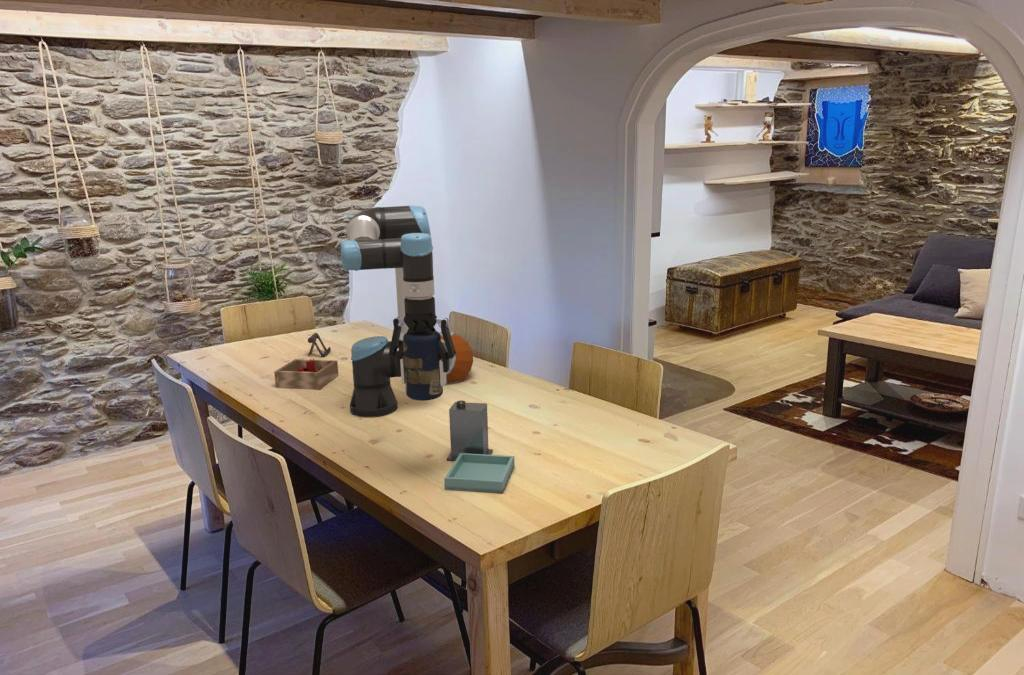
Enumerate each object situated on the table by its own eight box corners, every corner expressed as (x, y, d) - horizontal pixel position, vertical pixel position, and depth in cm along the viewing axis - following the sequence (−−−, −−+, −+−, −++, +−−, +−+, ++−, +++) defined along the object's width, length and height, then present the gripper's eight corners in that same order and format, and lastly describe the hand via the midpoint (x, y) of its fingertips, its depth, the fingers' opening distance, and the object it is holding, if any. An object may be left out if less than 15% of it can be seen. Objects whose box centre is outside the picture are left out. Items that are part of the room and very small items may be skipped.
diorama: (334, 382, 270) (332, 360, 268) (300, 387, 266) (298, 365, 263) (329, 374, 280) (327, 353, 278) (296, 379, 275) (294, 357, 273)
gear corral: (275, 387, 265) (274, 371, 264) (296, 374, 281) (295, 359, 279) (320, 389, 262) (318, 373, 261) (338, 376, 277) (337, 360, 276)
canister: (407, 392, 194) (403, 324, 190) (443, 390, 195) (440, 323, 190) (405, 404, 185) (400, 333, 181) (443, 402, 186) (439, 332, 181)
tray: (444, 489, 184) (444, 478, 183) (460, 463, 199) (460, 453, 198) (502, 493, 181) (502, 481, 180) (514, 466, 196) (514, 456, 195)
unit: (446, 460, 201) (444, 406, 197) (454, 449, 208) (452, 396, 204) (486, 463, 198) (484, 408, 195) (492, 451, 206) (491, 398, 202)
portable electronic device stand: (325, 357, 303) (323, 337, 301) (306, 358, 303) (304, 338, 301) (331, 351, 311) (329, 332, 309) (312, 352, 311) (310, 332, 309)
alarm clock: (412, 383, 267) (410, 336, 263) (435, 369, 283) (433, 325, 279) (460, 388, 260) (459, 340, 256) (481, 374, 276) (480, 328, 272)
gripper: (371, 299, 182) (377, 386, 188) (458, 300, 178) (462, 389, 183) (382, 293, 189) (387, 377, 195) (466, 294, 185) (470, 380, 190)
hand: (424, 383), depth 189 cm, fingers closed on canister, 10 cm apart
